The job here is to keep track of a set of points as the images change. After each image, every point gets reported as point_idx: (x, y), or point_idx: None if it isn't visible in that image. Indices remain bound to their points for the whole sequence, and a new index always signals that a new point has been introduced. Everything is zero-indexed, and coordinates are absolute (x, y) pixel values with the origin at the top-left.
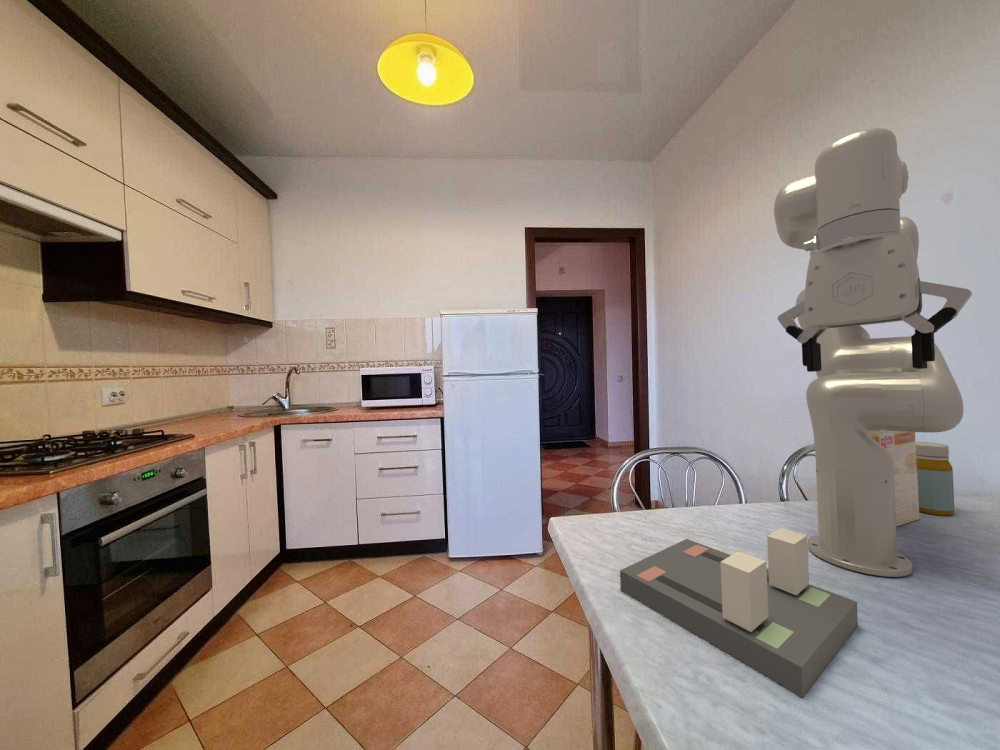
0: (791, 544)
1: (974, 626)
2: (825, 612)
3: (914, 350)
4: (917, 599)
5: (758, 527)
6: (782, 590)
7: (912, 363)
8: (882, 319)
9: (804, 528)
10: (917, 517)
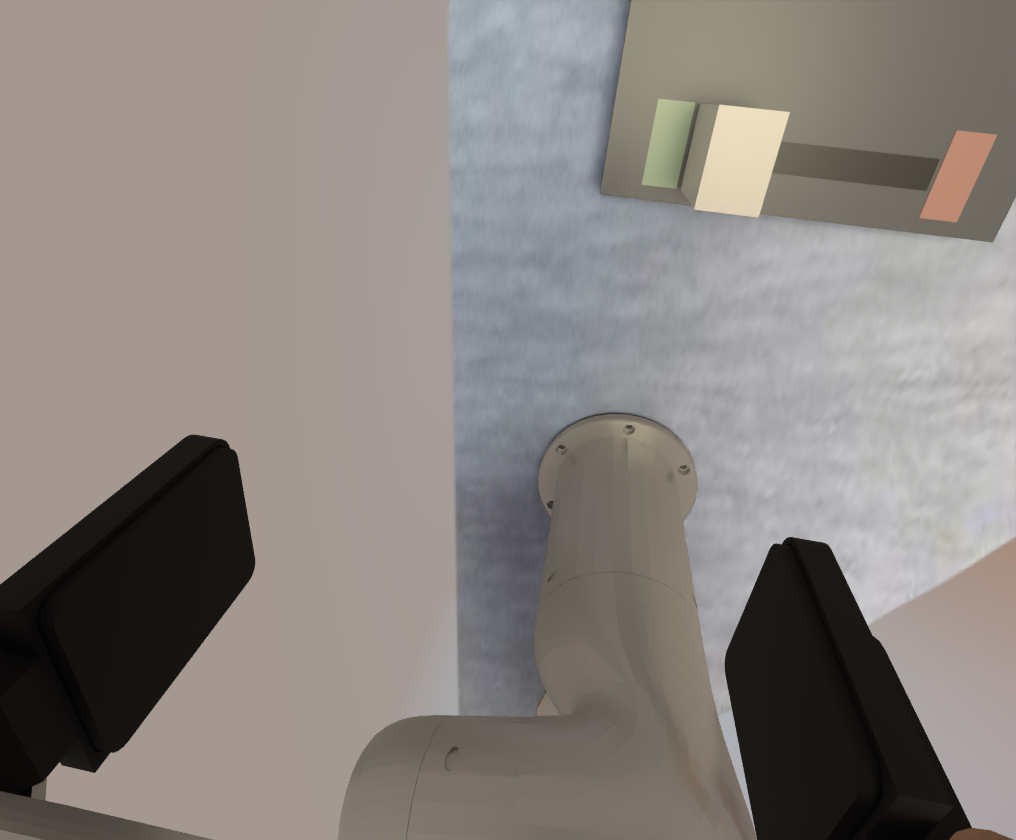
0: (725, 106)
1: (468, 334)
2: (645, 85)
3: (138, 505)
4: (530, 372)
5: (799, 520)
6: None
7: (216, 455)
8: (16, 802)
9: (707, 568)
10: (539, 707)
